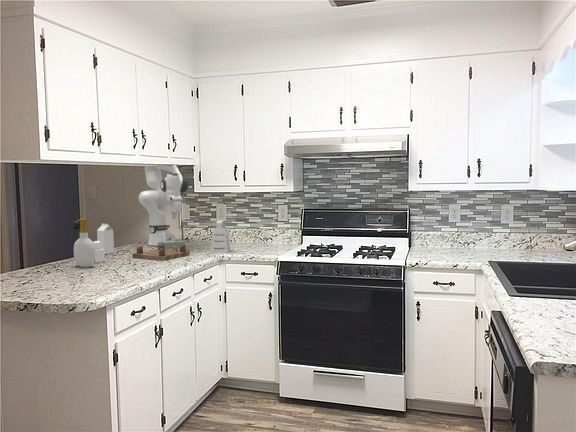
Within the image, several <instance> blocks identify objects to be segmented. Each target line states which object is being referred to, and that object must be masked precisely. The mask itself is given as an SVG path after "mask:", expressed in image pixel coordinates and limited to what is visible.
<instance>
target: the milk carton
mask: <svg viewBox="0 0 576 432" xmlns="http://www.w3.org/2000/svg"><path fill="white" fill-rule="evenodd" d="M96 233H97V234H96V235H97V236H96V237H97V239H96V240H97V241H100V242H101V248H100V249H104V253H105V255H110V254H114V253H115V240H114V239H115V238H114V235H115V234H114V229H113V228H112V227H111V226H110V225H109V224H108V223H101V226H99V228H97V229H96Z"/></svg>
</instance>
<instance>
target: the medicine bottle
mask: <svg viewBox="0 0 576 432" xmlns="http://www.w3.org/2000/svg"><path fill="white" fill-rule="evenodd" d="M91 241H92V242H93V243H94V246H95V259H94V263H93V264H98V263H103V262H106V260H105V259H106V258H105V256H106V254H105V253H104V249H100V248H101V242H100V241H98V240H91Z"/></svg>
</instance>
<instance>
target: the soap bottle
mask: <svg viewBox="0 0 576 432" xmlns="http://www.w3.org/2000/svg"><path fill="white" fill-rule="evenodd" d="M87 220H88V219H87V218H79V219H78V220H76V221H75V223H77V222H79V224H80V226H79V238H78V239H77V240H75V242H74V245H73V257H74V261H75V263H76V265H77V266H78V267H81V268H91V267H92V266H93V265H94V264H95V263H94V259H95V246H94V243H93V242H92V241H93V240H92V239H90V238H89V233H88V226H87Z"/></svg>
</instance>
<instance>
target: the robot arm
mask: <svg viewBox="0 0 576 432" xmlns="http://www.w3.org/2000/svg"><path fill="white" fill-rule="evenodd" d="M161 170H162V171H167V172H168V173H167V174H166V177H164V178H163V176H162V171H161ZM144 173H145V180H146V181H145V182H146V184H147V186H148V187H149V188H151V189H153V190H151V189H150V190H144V191H141V192H140V193H139V195H138V201H139V203H140V205H142V207H144V208H145V209H146V210H147V212H148V216H149V227H148V228H149V238H148V242H147V243H148V244H147V245H149V246H157V247H158V242H173V241H176V237H175V234H174V233H173V232H171V230H169V229H170V228H171V225H170V224H167V220H166V219H167V217H166V213H165V212H164V211H162V210H160V209H159V208H158V207H159V206H160V207H161V206H167V207H166V211H167V212H170V213H171V218H172V219H173V220H176V219H177V213H179V214H180V213H181V212H182V206H183V205H182V201H183V197H182V196H181V193H182V194H184V193H186V192H187V191H188V190H189V188H190V187H189V186H190V183H189V181H188V180H187V178H186V177H185V175H184V174H183V173H182V170H181V169H180V167H179V166H178V164H177V165H173V166H145V165H144Z"/></svg>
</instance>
